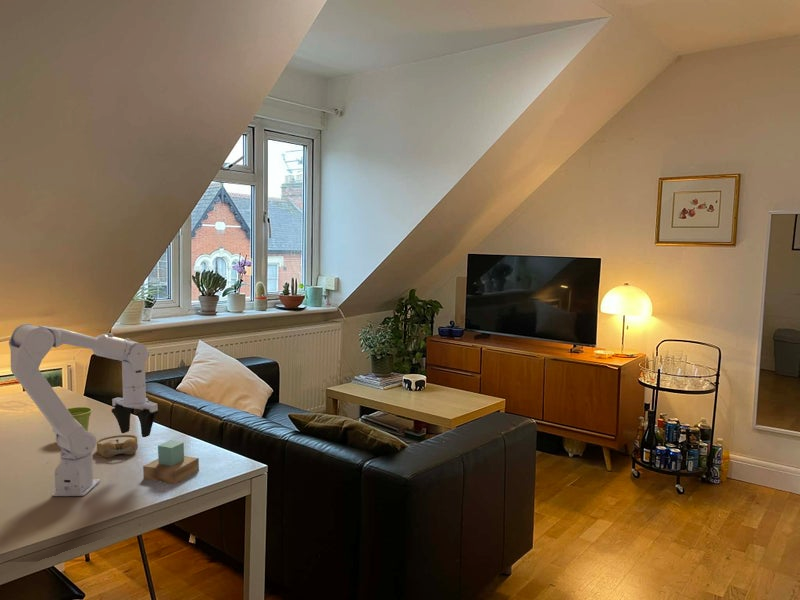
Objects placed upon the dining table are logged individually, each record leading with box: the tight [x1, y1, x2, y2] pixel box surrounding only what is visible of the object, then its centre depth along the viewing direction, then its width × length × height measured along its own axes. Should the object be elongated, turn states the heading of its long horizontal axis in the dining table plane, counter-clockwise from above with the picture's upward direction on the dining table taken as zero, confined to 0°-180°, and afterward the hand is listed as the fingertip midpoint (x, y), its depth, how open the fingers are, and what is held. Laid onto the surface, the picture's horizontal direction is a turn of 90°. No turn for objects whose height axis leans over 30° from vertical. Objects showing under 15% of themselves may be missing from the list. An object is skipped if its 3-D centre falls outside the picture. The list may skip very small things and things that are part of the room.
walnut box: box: [142, 455, 200, 485], centre depth 167 cm, size 10×10×4 cm
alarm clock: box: [96, 434, 139, 459], centre depth 184 cm, size 11×5×15 cm
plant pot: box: [67, 406, 93, 432], centre depth 196 cm, size 9×9×9 cm
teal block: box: [157, 440, 185, 466], centre depth 167 cm, size 5×5×5 cm
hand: (135, 434), depth 168 cm, fingers open, 7 cm apart
